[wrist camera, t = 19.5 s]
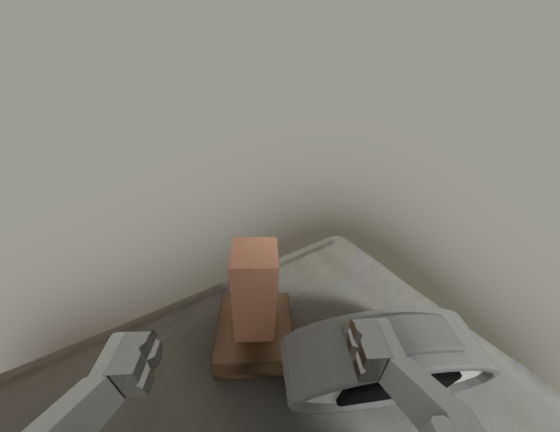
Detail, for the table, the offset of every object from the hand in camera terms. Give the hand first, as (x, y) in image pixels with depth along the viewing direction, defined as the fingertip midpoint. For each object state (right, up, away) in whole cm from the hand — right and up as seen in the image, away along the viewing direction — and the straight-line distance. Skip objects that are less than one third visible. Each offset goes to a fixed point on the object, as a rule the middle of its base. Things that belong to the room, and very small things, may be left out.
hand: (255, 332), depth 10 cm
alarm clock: (+12, -16, +21) cm, 29 cm away
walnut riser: (-3, -13, +25) cm, 28 cm away
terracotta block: (-2, -10, +23) cm, 25 cm away
